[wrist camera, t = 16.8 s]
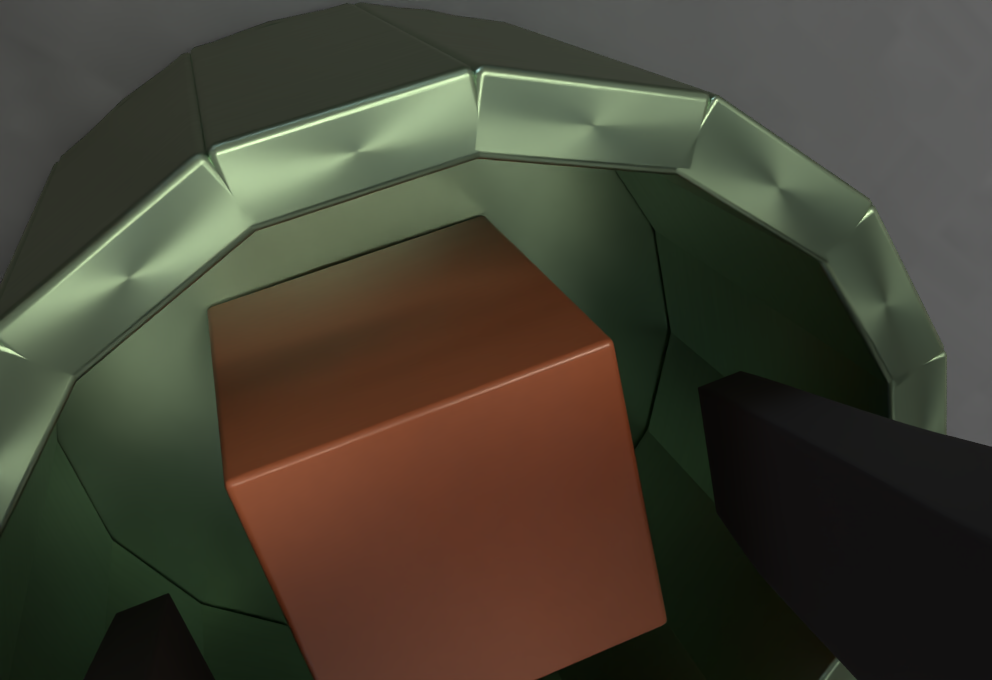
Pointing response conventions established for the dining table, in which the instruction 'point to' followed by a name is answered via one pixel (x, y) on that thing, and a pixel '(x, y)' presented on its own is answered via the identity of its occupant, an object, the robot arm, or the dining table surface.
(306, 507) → the block
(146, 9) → the dining table surface
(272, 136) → the tin
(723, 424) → the robot arm
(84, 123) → the dining table surface
